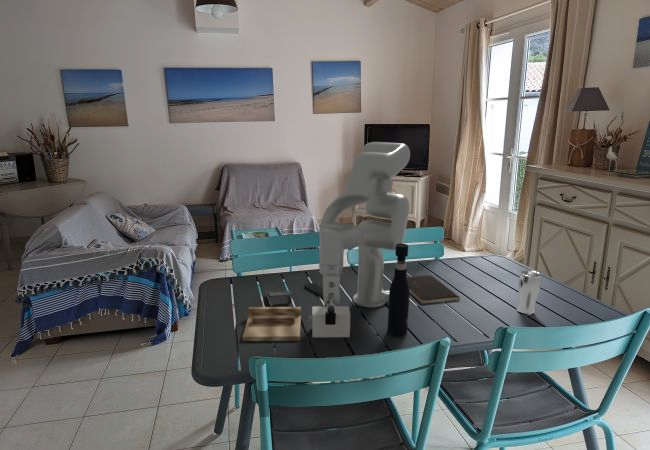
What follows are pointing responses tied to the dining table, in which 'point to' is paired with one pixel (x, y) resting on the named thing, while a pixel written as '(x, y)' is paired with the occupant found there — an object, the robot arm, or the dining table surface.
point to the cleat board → (273, 324)
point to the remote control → (315, 289)
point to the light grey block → (330, 330)
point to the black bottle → (399, 295)
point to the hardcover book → (430, 289)
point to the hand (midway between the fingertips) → (329, 317)
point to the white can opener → (528, 291)
